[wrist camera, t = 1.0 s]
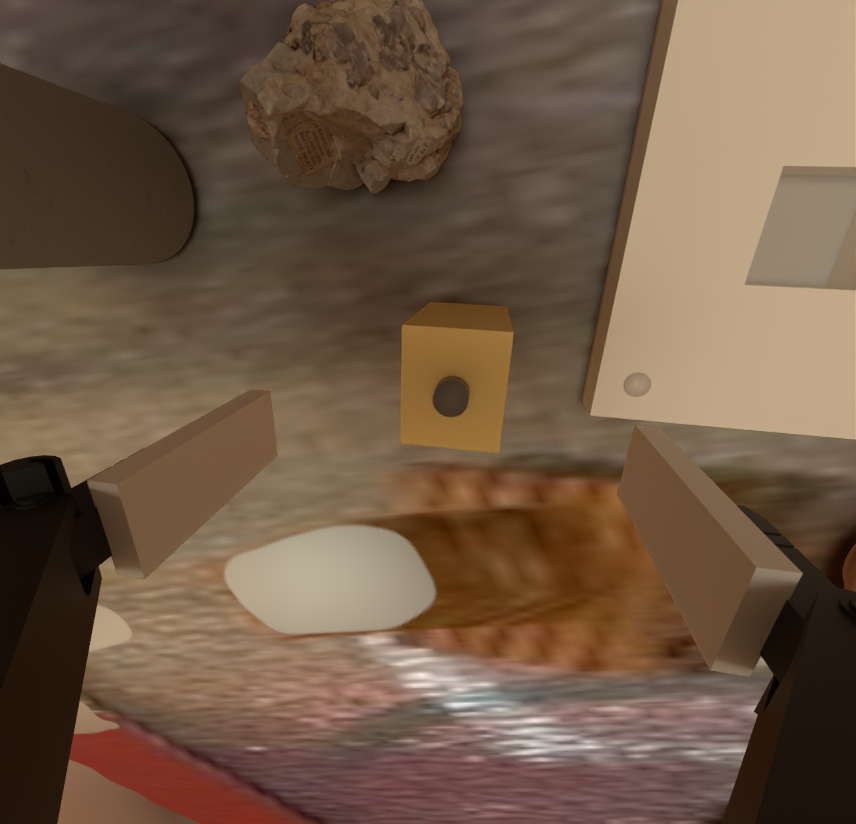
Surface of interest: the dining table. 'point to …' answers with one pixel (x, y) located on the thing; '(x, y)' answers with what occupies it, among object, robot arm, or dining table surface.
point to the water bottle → (84, 181)
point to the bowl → (850, 570)
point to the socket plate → (737, 226)
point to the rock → (355, 96)
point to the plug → (455, 376)
